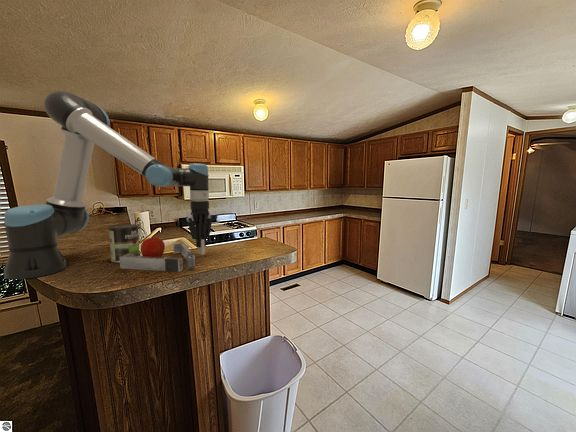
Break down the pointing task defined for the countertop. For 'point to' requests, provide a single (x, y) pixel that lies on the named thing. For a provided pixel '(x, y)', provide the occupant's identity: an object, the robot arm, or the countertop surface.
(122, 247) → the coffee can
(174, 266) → the long grey bar
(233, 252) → the countertop surface
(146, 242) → the apple
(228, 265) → the countertop surface
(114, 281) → the countertop surface
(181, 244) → the jaw
